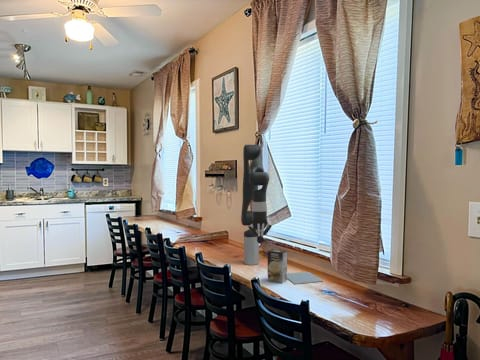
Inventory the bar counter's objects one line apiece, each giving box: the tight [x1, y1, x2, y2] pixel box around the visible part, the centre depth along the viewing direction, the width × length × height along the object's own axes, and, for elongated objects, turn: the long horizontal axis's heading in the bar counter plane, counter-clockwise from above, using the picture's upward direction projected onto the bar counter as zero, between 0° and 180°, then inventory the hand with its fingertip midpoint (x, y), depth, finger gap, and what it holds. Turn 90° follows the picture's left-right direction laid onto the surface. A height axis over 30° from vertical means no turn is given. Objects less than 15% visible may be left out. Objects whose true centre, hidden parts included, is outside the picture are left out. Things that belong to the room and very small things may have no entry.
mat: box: [287, 271, 324, 285], centre depth 197 cm, size 18×16×1 cm
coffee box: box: [267, 248, 288, 284], centre depth 193 cm, size 9×6×16 cm
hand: (259, 243), depth 190 cm, fingers closed
